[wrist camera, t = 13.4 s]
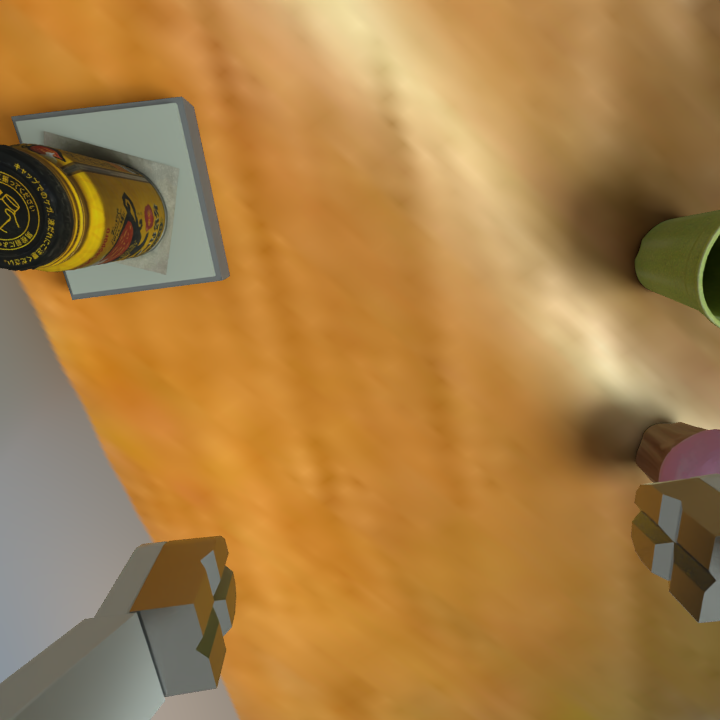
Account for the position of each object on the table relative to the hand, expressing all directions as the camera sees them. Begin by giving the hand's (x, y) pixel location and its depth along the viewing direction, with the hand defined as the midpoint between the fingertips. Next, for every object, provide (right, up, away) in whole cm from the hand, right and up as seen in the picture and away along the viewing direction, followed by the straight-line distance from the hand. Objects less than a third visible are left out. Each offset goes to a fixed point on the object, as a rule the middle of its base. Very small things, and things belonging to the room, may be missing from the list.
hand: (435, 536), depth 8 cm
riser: (-18, +15, +24) cm, 33 cm away
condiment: (-19, +14, +21) cm, 31 cm away
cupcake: (+28, -4, +34) cm, 44 cm away
